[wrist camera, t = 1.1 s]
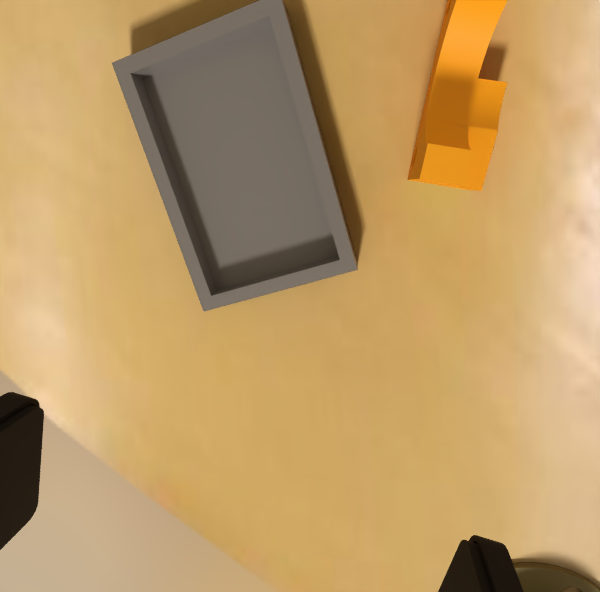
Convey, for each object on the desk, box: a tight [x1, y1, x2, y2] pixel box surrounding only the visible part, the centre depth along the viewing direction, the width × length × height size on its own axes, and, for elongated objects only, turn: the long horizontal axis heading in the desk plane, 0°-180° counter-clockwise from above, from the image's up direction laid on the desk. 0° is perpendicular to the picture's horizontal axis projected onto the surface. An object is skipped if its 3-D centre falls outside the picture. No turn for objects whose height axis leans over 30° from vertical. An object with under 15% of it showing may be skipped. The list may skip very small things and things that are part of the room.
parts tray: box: [112, 0, 358, 311], centre depth 30 cm, size 12×18×2 cm, turn 17°
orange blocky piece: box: [408, 0, 507, 191], centre depth 25 cm, size 12×4×6 cm, turn 171°
